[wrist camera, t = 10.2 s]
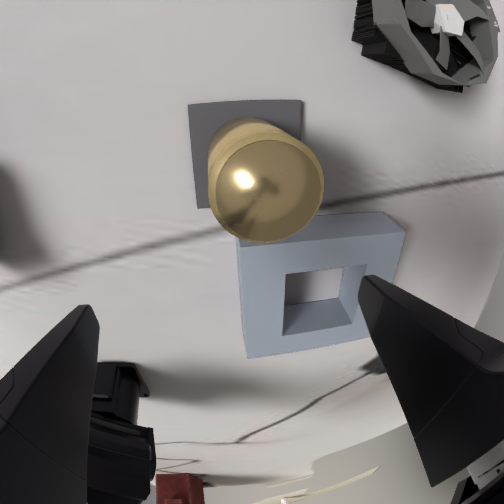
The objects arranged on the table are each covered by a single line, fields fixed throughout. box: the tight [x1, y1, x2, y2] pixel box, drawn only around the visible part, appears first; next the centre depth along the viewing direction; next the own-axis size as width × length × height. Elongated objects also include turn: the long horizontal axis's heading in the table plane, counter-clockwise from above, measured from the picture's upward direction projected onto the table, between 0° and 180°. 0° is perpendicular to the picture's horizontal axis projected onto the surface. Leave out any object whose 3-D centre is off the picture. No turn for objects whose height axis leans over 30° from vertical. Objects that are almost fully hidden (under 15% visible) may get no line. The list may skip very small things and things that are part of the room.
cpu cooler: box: [352, 0, 500, 93], centre depth 12 cm, size 10×6×10 cm
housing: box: [236, 212, 406, 359], centre depth 23 cm, size 11×12×4 cm
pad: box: [188, 100, 301, 209], centre depth 18 cm, size 7×7×1 cm
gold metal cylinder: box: [208, 117, 324, 243], centre depth 15 cm, size 5×5×7 cm
